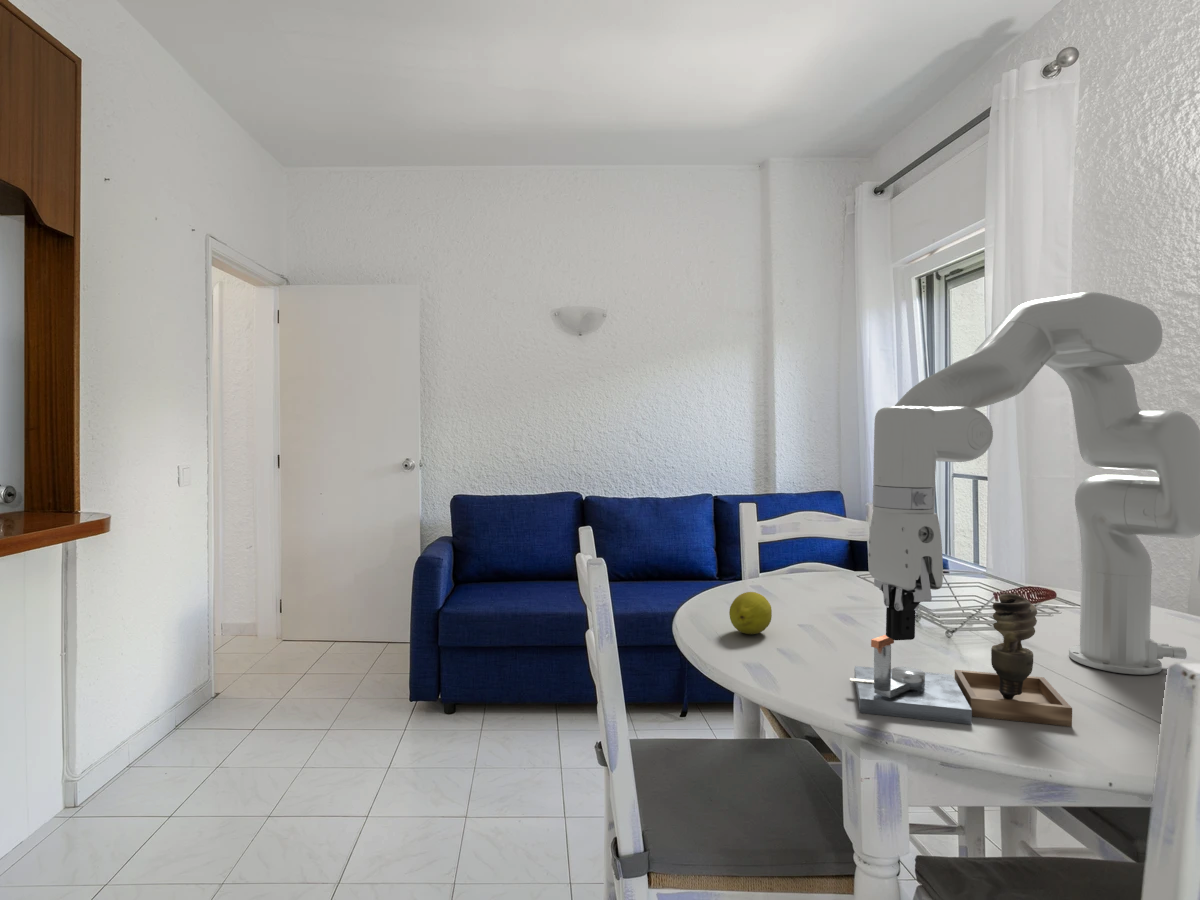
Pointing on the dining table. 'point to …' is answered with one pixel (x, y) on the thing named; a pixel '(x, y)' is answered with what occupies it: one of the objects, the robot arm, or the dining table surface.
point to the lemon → (750, 613)
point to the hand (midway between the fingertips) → (900, 637)
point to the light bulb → (1013, 642)
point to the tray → (1014, 699)
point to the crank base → (915, 699)
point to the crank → (900, 675)
